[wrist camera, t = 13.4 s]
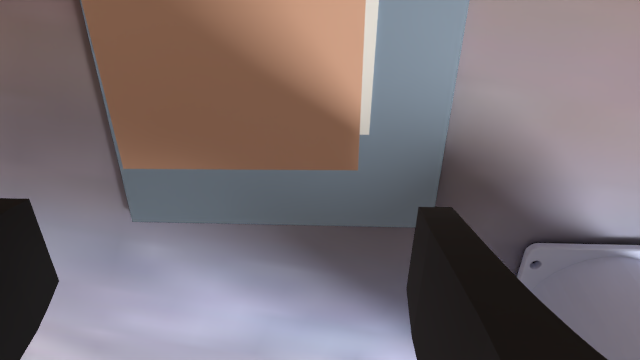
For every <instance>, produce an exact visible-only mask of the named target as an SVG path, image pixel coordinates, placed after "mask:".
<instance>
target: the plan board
mask: <svg viewBox="0 0 640 360" xmlns="http://www.w3.org/2000/svg"><path fill="white" fill-rule="evenodd" d="M80 3H81V7H82V12H83V16H84V20H85V24H86V29H87V33H88V37H89V41H90V45H91V50H92V54H93V58H94V62H95V66H96V71H97V75H98V79H99V83H100V87H101V92H102V96H103V100H104V104H105V108H106V113H107V117H108V121H109V125H110V129H111V134H112V138H113V142H114V146H115V150H116V155H117V159H118V163H119V167H120V171H121V176H122V180H123V184H124V188H125V192H126V197H127V201H128V205H129V209H130V213H131V218H132V222H167V223H216V224H265V225H314V226H363V227H412V228H415V227H416V220H417V213H418V207H435V203H436V197H437V191H438V185H439V179H440V173H441V167H442V161H443V155H444V149H445V143H446V137H447V131H448V125H449V119H450V113H451V107H452V102H453V96H454V90H455V84H456V78H457V72H458V66H459V60H460V54H461V48H462V42H463V36H464V30H465V24H466V18H467V12H468V6H469V0H366V5H365V27H364V49H363V71H362V93H361V115H360V138H359V160H358V170H225V169H123V165H122V161H121V157H120V153H119V149H118V145H117V141H116V137H115V133H114V129H113V125H112V121H111V117H110V113H109V109H108V105H107V101H106V97H105V93H104V89H103V85H102V81H101V77H100V73H99V69H98V65H97V61H96V57H95V53H94V49H93V45H92V41H91V37H90V33H89V29H88V25H87V21H86V17H85V13H84V9H83V5H82V1H81V0H80Z"/></svg>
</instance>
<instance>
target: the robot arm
mask: <svg viewBox="0 0 640 360" xmlns="http://www.w3.org/2000/svg"><path fill="white" fill-rule="evenodd" d="M533 261H537V262H535V263H532V262H533ZM531 263H532V264H531ZM58 282H59V280H58V277H57V274H56V271H55V269H54V266H53V263H52V260H51V258H50V255H49V252H48V250H47V247H46V244H45V241H44V239H43V236H42V233H41V230H40V228H39V225H38V222H37V220H36V217H35V214H34V211H33V209H32V206H31V203H30V200H29V199H6V198H0V360H20V359H21V357H22V355H23V354H24V352H25V350H26V349H27V347H28V345H29V344H30V342H31V340H32V339H33V337H34V335H35V334H36V332H37V330H38V328H39V326H40V324H41V322H42V319H43V317H44V315H45V313H46V311H47V309H48V306H49V304H50V301H51V299H52V297H53V294H54V292H55V289H56V287H57V284H58ZM407 297H408V307H409V316H410V324H411V333H412V339H413V344H414V348H415V353H416V357H417V360H640V245H609V244H561V243H535V244H532V245H530V246H528V247H527V248H526V250H525V252H524V255H523V258H522V262H521V265H520V268H519V272H518V275H517V277H516V276H515V275H514V274H513V273H512V272H511V271H510V270H509V269H508V268H507V267H506V266H505V265H504V264H503V263H502V262H501V261H500V260H499V258H498V257H497V256H496V255H495V254H494V253H493V252H492V251H491V250H490V249H489V248H488V247H487V246H486V244H485V243H484V242H483V241H482V240H481V239H480V238H479V237H478V236H477V235H476V233H475V232H474V231H473V230H472V229H471V228H470V227H469V226H468V225H467V224H466V222H465V221H464V220H463V219H462V218H461V217H460V216H459V215H458V214H457V213H456V211H455V210H454V209H453V208H452V207H418V213H417V220H416V227H415V234H414V241H413V248H412V254H411V261H410V268H409V275H408V282H407Z"/></svg>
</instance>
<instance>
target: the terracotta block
mask: <svg viewBox="0 0 640 360" xmlns="http://www.w3.org/2000/svg"><path fill="white" fill-rule="evenodd" d="M81 1H82V5H83V9H84V13H85V17H86V21H87V25H88V29H89V33H90V37H91V41H92V45H93V49H94V53H95V57H96V61H97V65H98V69H99V73H100V77H101V81H102V85H103V89H104V93H105V97H106V101H107V105H108V109H109V113H110V117H111V121H112V125H113V129H114V133H115V137H116V141H117V145H118V149H119V153H120V157H121V161H122V165H123V169H225V170H358V160H359V138H360V115H361V93H362V71H363V49H364V27H365V5H366V0H81Z"/></svg>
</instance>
